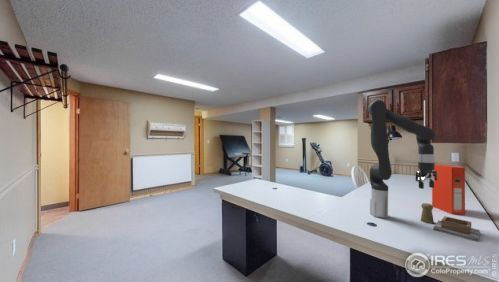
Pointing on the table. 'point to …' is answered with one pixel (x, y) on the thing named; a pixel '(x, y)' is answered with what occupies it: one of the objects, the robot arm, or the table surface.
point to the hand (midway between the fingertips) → (426, 188)
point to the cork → (427, 213)
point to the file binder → (449, 189)
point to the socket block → (457, 228)
